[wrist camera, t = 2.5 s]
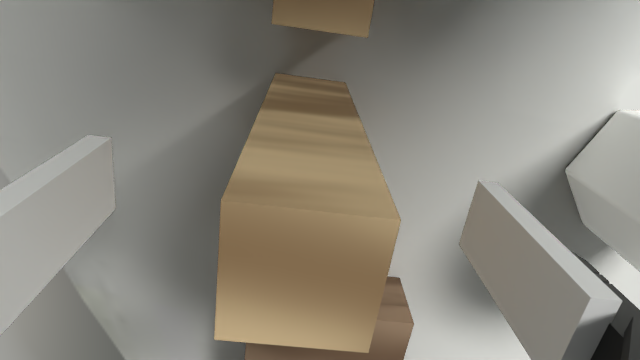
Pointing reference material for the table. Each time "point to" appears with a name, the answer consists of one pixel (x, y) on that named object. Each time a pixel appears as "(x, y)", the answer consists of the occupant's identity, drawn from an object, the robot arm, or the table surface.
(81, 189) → the robot arm
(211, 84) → the table surface
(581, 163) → the jar
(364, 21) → the peg short
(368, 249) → the peg long
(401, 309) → the bridge
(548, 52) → the table surface
